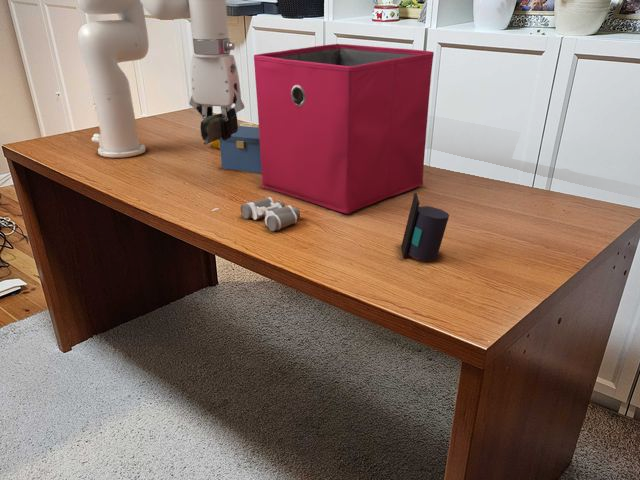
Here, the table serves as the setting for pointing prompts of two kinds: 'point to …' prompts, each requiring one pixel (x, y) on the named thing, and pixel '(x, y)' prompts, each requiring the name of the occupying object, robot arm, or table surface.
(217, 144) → the element tile
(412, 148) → the storage bin
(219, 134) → the mobile phone
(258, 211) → the binoculars
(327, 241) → the table surface
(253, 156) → the blue box
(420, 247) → the speaker
